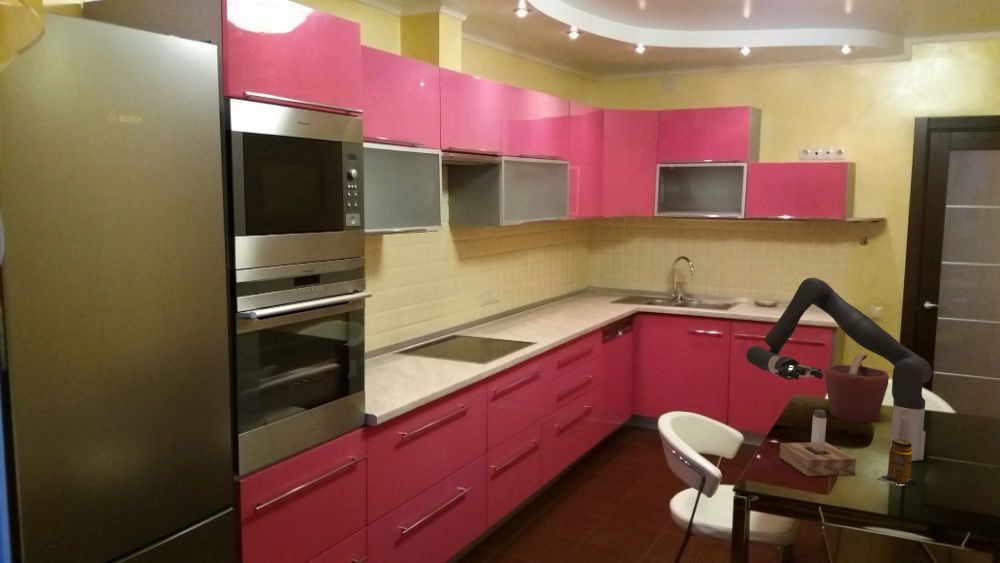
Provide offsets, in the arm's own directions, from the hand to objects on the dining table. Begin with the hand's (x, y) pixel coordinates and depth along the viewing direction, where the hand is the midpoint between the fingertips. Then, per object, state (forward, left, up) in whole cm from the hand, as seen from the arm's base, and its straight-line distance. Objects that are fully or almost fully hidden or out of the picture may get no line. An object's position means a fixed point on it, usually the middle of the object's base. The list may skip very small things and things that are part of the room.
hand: (809, 376), depth 247 cm
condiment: (-20, +23, -26) cm, 40 cm away
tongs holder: (+1, +15, -26) cm, 30 cm away
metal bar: (+1, +15, -26) cm, 30 cm away
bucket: (-33, -49, -26) cm, 65 cm away
